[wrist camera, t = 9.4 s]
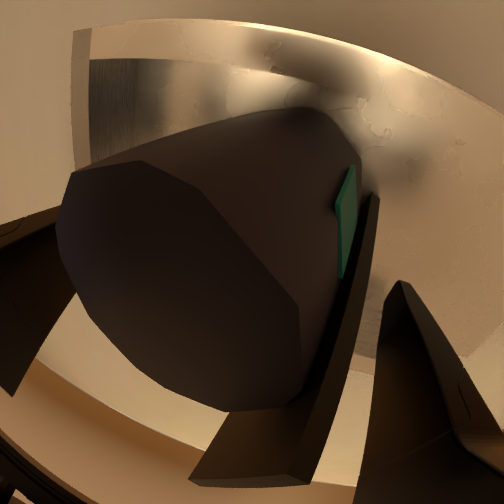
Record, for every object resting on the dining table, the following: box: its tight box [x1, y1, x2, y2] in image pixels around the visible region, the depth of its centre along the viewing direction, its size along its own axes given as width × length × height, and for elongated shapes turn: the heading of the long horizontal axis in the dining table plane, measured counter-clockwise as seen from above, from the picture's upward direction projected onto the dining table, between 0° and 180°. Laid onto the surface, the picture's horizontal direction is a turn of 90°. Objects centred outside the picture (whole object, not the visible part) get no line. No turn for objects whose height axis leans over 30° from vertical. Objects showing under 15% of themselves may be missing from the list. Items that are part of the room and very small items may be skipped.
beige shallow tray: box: [71, 18, 504, 375], centre depth 11 cm, size 22×13×4 cm, turn 80°
